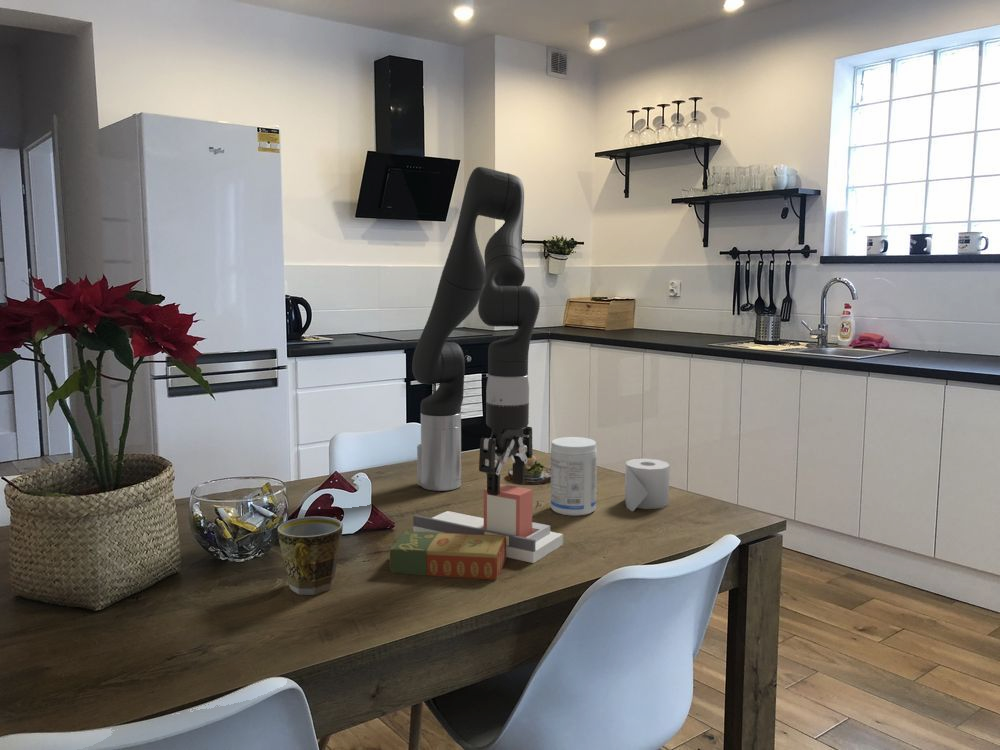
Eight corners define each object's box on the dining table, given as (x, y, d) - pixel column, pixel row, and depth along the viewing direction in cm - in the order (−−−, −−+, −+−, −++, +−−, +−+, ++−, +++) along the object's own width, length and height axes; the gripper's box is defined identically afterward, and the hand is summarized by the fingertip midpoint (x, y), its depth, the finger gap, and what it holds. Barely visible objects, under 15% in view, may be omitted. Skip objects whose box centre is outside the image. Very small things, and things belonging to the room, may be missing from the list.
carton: (497, 582, 131) (497, 553, 130) (388, 575, 134) (388, 547, 133) (506, 561, 140) (506, 533, 140) (404, 554, 143) (404, 528, 143)
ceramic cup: (290, 574, 133) (288, 515, 132) (350, 575, 133) (348, 516, 131) (264, 607, 120) (262, 543, 119) (331, 608, 120) (329, 543, 119)
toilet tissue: (628, 514, 166) (629, 473, 165) (623, 495, 179) (624, 458, 178) (673, 515, 166) (674, 474, 164) (664, 496, 179) (665, 459, 178)
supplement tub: (573, 500, 175) (574, 434, 173) (605, 511, 168) (607, 442, 166) (540, 509, 169) (541, 440, 167) (572, 520, 162) (573, 448, 160)
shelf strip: (413, 536, 152) (412, 515, 151) (447, 520, 161) (447, 501, 161) (533, 563, 138) (533, 541, 138) (563, 544, 148) (563, 523, 147)
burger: (558, 485, 188) (558, 454, 187) (507, 485, 188) (507, 454, 187) (555, 472, 200) (555, 443, 199) (507, 472, 200) (507, 442, 199)
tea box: (519, 545, 141) (519, 495, 140) (483, 537, 145) (483, 489, 144) (532, 537, 145) (532, 489, 144) (497, 530, 149) (497, 483, 148)
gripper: (504, 408, 134) (503, 502, 136) (545, 396, 146) (544, 483, 148) (467, 403, 138) (466, 495, 140) (510, 392, 150) (509, 476, 152)
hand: (506, 488), depth 144 cm, fingers open, 8 cm apart
